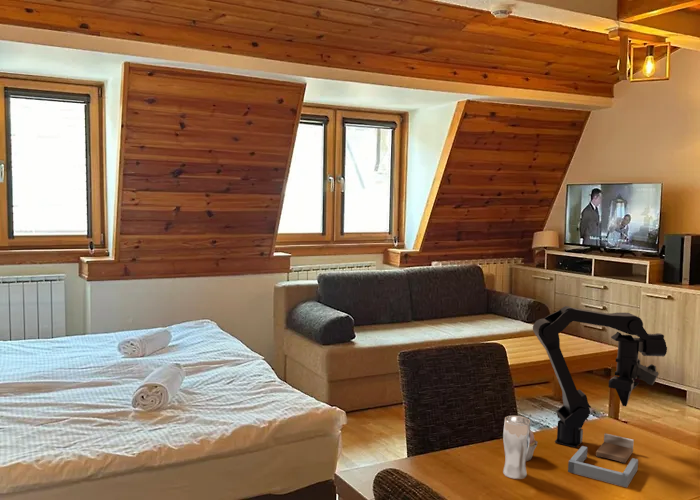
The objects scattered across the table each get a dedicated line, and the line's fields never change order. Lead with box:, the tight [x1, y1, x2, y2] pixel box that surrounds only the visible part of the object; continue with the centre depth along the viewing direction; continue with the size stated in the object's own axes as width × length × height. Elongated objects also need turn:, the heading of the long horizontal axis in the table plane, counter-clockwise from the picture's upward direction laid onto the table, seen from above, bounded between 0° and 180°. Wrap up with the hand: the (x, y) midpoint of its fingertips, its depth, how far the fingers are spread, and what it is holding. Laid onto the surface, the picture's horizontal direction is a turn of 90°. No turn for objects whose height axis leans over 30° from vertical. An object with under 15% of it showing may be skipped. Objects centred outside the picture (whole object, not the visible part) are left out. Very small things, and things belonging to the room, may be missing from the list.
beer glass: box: [502, 415, 531, 480], centre depth 167 cm, size 7×7×15 cm
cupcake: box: [526, 429, 538, 462], centre depth 179 cm, size 9×9×10 cm
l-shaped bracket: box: [595, 433, 635, 464], centre depth 182 cm, size 8×10×4 cm
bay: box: [567, 445, 639, 488], centre depth 171 cm, size 15×14×3 cm
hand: (624, 405), depth 189 cm, fingers closed
